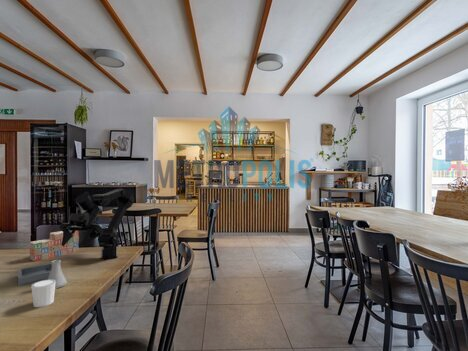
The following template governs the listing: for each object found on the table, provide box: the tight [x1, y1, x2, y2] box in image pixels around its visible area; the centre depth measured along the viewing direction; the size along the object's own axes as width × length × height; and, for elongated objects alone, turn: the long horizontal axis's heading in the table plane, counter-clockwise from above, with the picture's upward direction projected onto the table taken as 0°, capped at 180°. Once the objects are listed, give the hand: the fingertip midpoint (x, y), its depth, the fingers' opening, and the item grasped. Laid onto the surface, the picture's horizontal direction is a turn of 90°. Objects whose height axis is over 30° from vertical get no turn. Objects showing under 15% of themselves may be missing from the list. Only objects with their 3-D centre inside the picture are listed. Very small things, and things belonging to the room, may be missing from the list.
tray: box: [17, 262, 52, 287], centre depth 112 cm, size 13×13×3 cm
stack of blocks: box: [29, 230, 80, 262], centre depth 142 cm, size 21×6×12 cm, turn 145°
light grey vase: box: [48, 259, 68, 290], centre depth 103 cm, size 7×7×10 cm
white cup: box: [31, 279, 56, 308], centre depth 90 cm, size 7×7×7 cm
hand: (71, 246), depth 112 cm, fingers open, 9 cm apart
